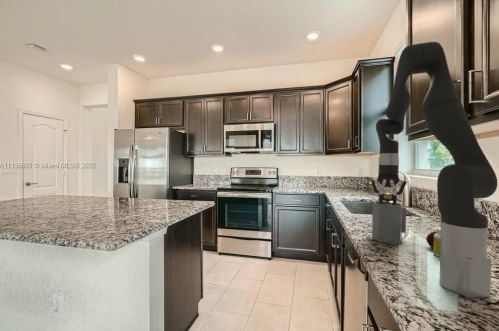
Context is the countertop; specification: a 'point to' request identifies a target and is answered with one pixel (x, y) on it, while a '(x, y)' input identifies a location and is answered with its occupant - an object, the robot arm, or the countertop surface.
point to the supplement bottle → (437, 242)
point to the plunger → (387, 197)
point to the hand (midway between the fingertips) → (387, 203)
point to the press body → (388, 222)
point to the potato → (431, 239)
